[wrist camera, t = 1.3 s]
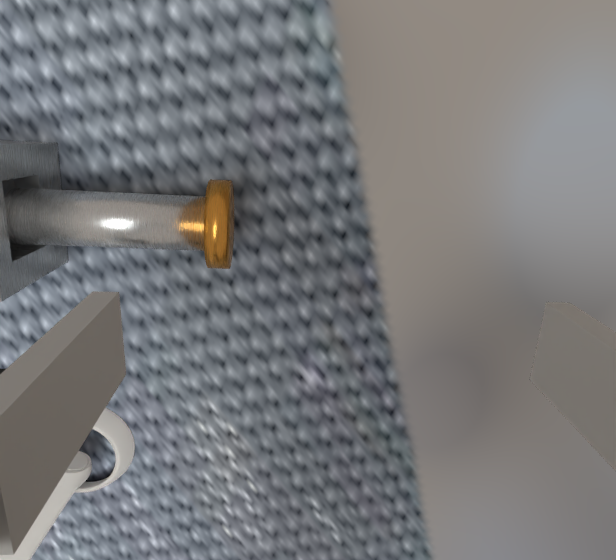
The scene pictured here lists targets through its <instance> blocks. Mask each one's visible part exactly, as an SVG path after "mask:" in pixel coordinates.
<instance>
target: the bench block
mask: <svg viewBox="0 0 616 560" xmlns="http://www.w3.org/2000/svg"><path fill="white" fill-rule="evenodd" d="M11 188H33V189H54V190H62V189H61V178H60V166H59V155H58V144H57V143H46V142H28V141H9V140H0V302H2V301H4V300H5V299H7V298H9V297H10V296H12V295H14V294H15V293H17V292H19V291H20V290H22V289H24V288H25V287H27V286H29V285H30V284H32V283H34V282H35V281H37V280H39V279H40V278H42V277H44V276H45V275H47V274H49V273H50V272H52V271H54V270H55V269H57V268H59V267H60V266H62V265H64V264H65V263H67V262H68V255H67V246H62V245H36V244H15V243H12V242H11V241H10V240H9V233H8V225H7V217H6V209H5V201H4V197H5V195H6V193H7V192H8V191H9V190H10V189H11Z"/></svg>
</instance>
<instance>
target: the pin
mask: <svg viewBox="0 0 616 560" xmlns="http://www.w3.org/2000/svg"><path fill="white" fill-rule="evenodd" d="M4 201H5V209H6V217H7V225H8V233H9V240H10V241H11V242H12V243H15V244H36V245H62V246H88V247H114V248H139V249H165V250H191V251H204V252H205V260H206V264H207V267H208V268H222V269H229V268H230V266H231V261H232V253H233V241H234V190H233V183H232V181H231V180H212V179H210V180H209V182H208V185H207V190H206V196H205V197H204V196H182V195H161V194H140V193H118V192H97V191H76V190H54V189H33V188H11V189H10V190H9V191H8V192H7V193H6V195H5V197H4Z"/></svg>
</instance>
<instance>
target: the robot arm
mask: <svg viewBox="0 0 616 560" xmlns="http://www.w3.org/2000/svg"><path fill="white" fill-rule="evenodd" d="M125 375H126V367H125V356H124V345H123V333H122V322H121V310H120V299H119V292H92V293H90V294H89V295H88V296H87V297H86V298H85V299H84V300H83V301H82V302H80V303H79V304H78V305H77V306H76V307H75V308H74V309H73V310H71V311H70V312H69V313H68V314H67V315H66V316H65V317H64V318H63V319H61V320H60V321H59V322H58V323H57V324H56V325H55V326H54V327H53V328H51V329H50V330H49V331H48V332H47V333H46V334H45V335H44V336H43V337H41V338H40V339H39V340H38V341H37V342H36V343H35V344H34V345H32V346H31V347H30V348H29V349H28V350H27V351H26V352H25V353H24V354H22V355H21V356H20V357H19V358H18V359H17V360H16V361H15V362H14V363H12V364H11V365H10V366H9V367H8V368H7V369H0V555H14V554H15V552H16V551H17V549H18V547H19V546H20V544H21V543H22V541H23V539H24V538H25V536H26V534H27V533H28V531H29V530H30V528H31V526H32V525H33V523H34V522H35V520H36V518H37V517H38V515H39V514H40V512H41V510H42V509H43V507H44V505H45V504H46V502H47V501H48V499H49V497H50V496H51V494H52V493H53V491H54V489H55V488H56V486H57V485H58V483H59V481H60V480H61V478H62V477H63V475H64V473H65V472H66V470H67V468H68V467H69V465H70V464H71V462H72V460H73V459H74V457H75V456H76V454H77V452H78V451H79V449H80V448H81V446H82V444H83V443H84V441H85V440H86V438H87V436H88V435H89V433H90V431H91V430H92V428H93V427H94V425H95V423H96V422H97V420H98V419H99V417H100V415H101V414H102V412H103V411H104V409H105V407H106V406H107V404H108V402H109V401H110V399H111V398H112V396H113V394H114V393H115V391H116V390H117V388H118V386H119V385H120V383H121V382H122V380H123V378H124V377H125ZM530 381H531V382H532V383H533V384H534V385H535V386H536V387H537V388H538V389H539V390H540V391H541V392H542V394H543V395H544V396H545V397H546V398H547V399H548V400H549V401H550V402H551V403H552V404H553V405H554V406H555V407H556V408H557V409H558V410H559V412H561V414H562V415H564V417H565V418H566V419H567V420H568V421H569V422H570V423H571V424H572V425H573V426H574V427H575V428H576V430H577V431H578V432H579V433H580V434H581V435H582V436H583V437H584V438H585V439H586V440H587V441H588V442H589V443H590V444H591V446H593V448H594V449H595V450H596V451H597V452H598V453H599V454H600V455H601V456H602V457H603V458H604V459H605V460H606V461H607V462H608V463H609V465H610V466H611V467H612V468H613V469H614V470H615V471H616V332H614V331H613V330H611V329H610V328H608V327H606V326H605V325H603V324H602V323H600V322H599V321H597V320H596V319H594V318H593V317H591V316H589V315H588V314H586V313H585V312H583V311H582V310H580V309H579V308H577V307H576V306H574V305H572V304H571V303H560V302H546V306H545V310H544V314H543V319H542V324H541V329H540V333H539V338H538V342H537V347H536V352H535V357H534V362H533V366H532V371H531V375H530Z"/></svg>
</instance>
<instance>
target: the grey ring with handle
mask: <svg viewBox="0 0 616 560" xmlns="http://www.w3.org/2000/svg"><path fill="white" fill-rule="evenodd" d="M92 429H94V430H96V431H98V432H99V433H101V434H102V435H103V436H105V438H106V439H107V440H108V441H109V442H110V444H111V445H112V447H113V449H114V452H115V457H116V462H115V467H114V470H113V472H112V473H111V475H110V476H109V477H108V478H106V479H103V480H100V481H95V482H85V481H86V480H87V479H88V477H89V475H90V473H91V471H92V464H91V459H90V457H89V456H88V455H87V454H86V453H84V452H81V451H78V452H77V454H76V456H75V457H74V459H73V460H72V462H71V464H70V465H69V467H68V468H67V470H66V472H65V473H64V475H63V477H62V478H61V480H60V481H59V483H58V485H57V486H56V488H55V489H54V491H53V493H52V494H51V496H50V497H49V499H48V501H47V502H46V504H45V505H44V507H43V509H42V510H41V512H40V514H39V515H38V517H37V518H36V520H35V522H34V523H33V525H32V526H31V528H30V530H29V531H28V533H27V534H26V536H25V538H24V539H23V541H22V543H21V544H20V546H19V547H18V549H17V551H16V552H15V554H14V555H0V560H30V559H31V557H32V556H33V554H34V553H35V551H36V550H37V548H38V547H39V545H40V544H41V542H42V541H43V539H44V538H45V536H46V534H47V533H48V531H49V530H50V528H51V527H52V525H53V524H54V522H55V521H56V519H57V518H58V516H59V515H60V513H61V512H62V510H63V508H64V507H65V505H66V504H67V502H68V501H69V499H70V498H71V496H72V495H73V494H74V492H78V493H81V492H91V491H95V490H98V489H100V488H103V487H105V486H107V485H109V484H110V483H112V482H114V481H115V480H117V479H118V478H119V477H120V476H121V475H122V474H123V473H124V472H125V471H126V470H127V469H128V468H129V466H130V465H131V462H132V460H133V457H134V451H135V444H134V438H133V436H132V433H131V431H130V429H129V427H128V426H127V424H126V423H125V422H124V421H123V420H122V419H121V418H120V417H119V416H118V415H117V414H115V413H114V412H112V411H111V410H109V409H107V408H105V409H104V411H103V412H102V414H101V415H100V417H99V419H98V420H97V422H96V423H95V425H94V427H93V428H92Z"/></svg>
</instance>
